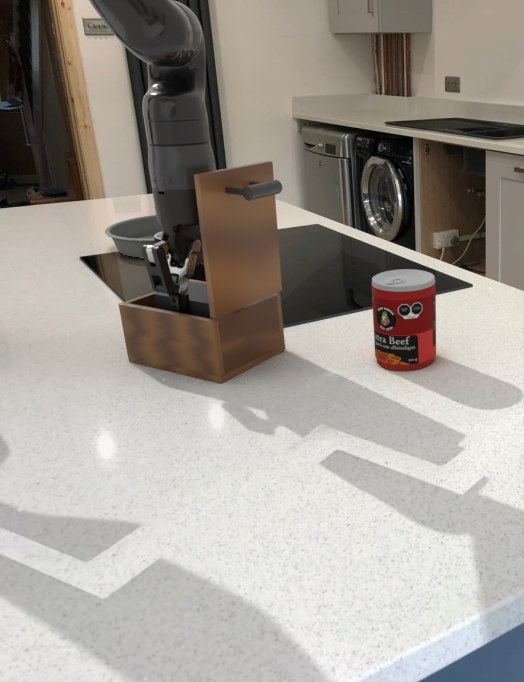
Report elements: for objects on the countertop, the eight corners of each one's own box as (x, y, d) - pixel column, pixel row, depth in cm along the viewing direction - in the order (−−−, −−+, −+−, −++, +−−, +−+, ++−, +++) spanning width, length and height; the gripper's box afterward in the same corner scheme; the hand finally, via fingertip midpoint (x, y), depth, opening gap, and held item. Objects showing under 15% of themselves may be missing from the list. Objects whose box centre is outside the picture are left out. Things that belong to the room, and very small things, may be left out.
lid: (193, 174, 79) (228, 178, 77) (267, 160, 89) (300, 164, 87) (210, 317, 85) (243, 325, 83) (277, 289, 95) (308, 295, 93)
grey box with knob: (250, 316, 94) (246, 287, 93) (216, 331, 89) (212, 300, 88) (192, 306, 99) (188, 277, 97) (157, 319, 94) (152, 290, 92)
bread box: (128, 361, 94) (118, 303, 91) (198, 331, 104) (190, 278, 101) (221, 383, 88) (213, 322, 85) (285, 349, 98) (280, 293, 95)
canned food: (362, 363, 93) (358, 280, 89) (401, 344, 99) (398, 265, 95) (411, 376, 89) (408, 290, 85) (448, 355, 95) (447, 274, 91)
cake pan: (91, 245, 153) (87, 223, 151) (204, 227, 168) (202, 207, 166) (134, 268, 136) (130, 244, 134) (255, 246, 151) (253, 225, 149)
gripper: (205, 171, 95) (220, 294, 101) (112, 188, 83) (136, 327, 89) (249, 175, 92) (263, 302, 98) (160, 193, 80) (182, 336, 86)
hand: (203, 313), depth 94 cm, fingers closed on grey box with knob, 6 cm apart
